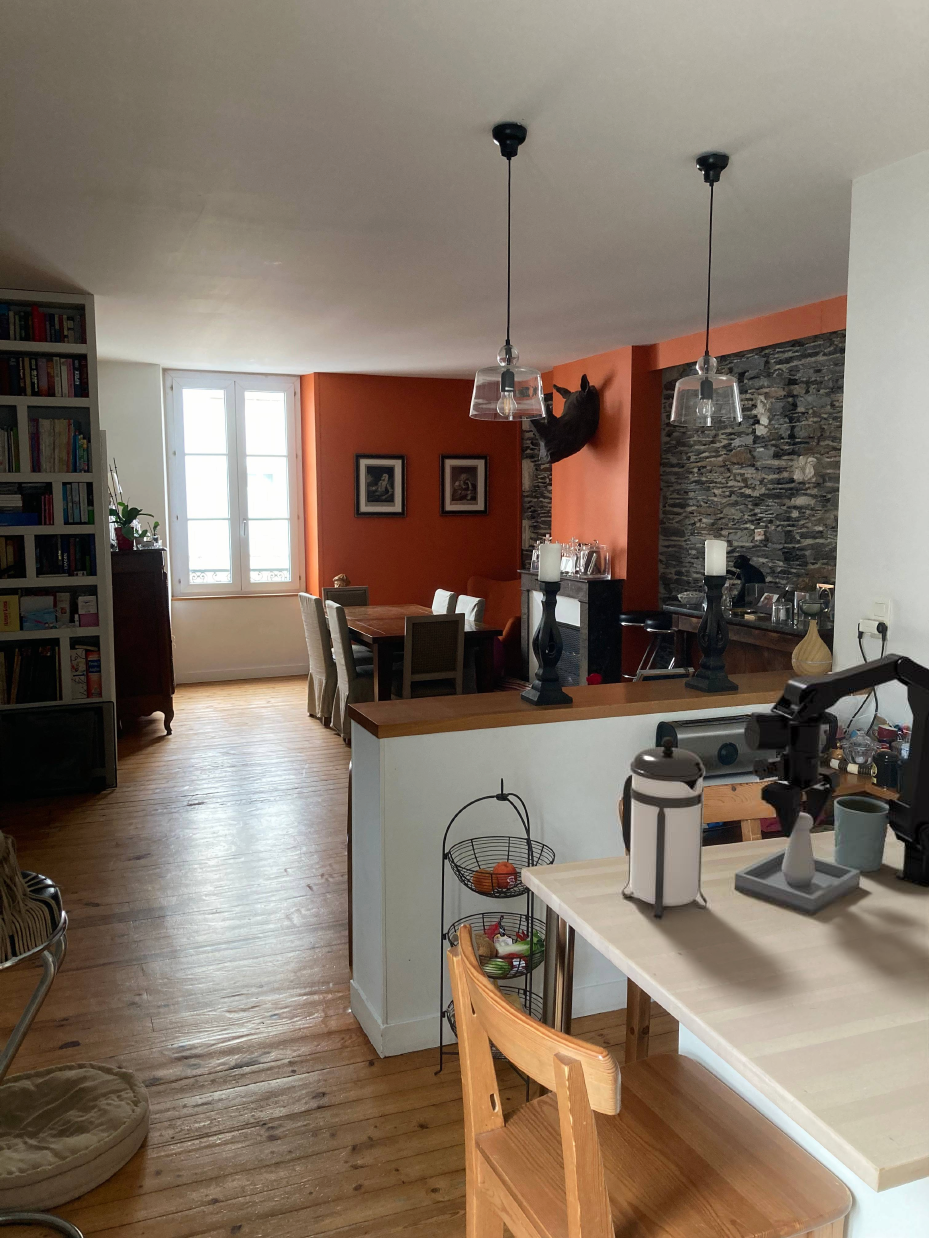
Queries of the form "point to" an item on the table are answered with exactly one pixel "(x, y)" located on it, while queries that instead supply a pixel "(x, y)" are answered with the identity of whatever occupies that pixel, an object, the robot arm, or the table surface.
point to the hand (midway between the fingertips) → (799, 831)
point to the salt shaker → (799, 854)
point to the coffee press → (664, 826)
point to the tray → (811, 899)
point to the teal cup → (860, 832)
